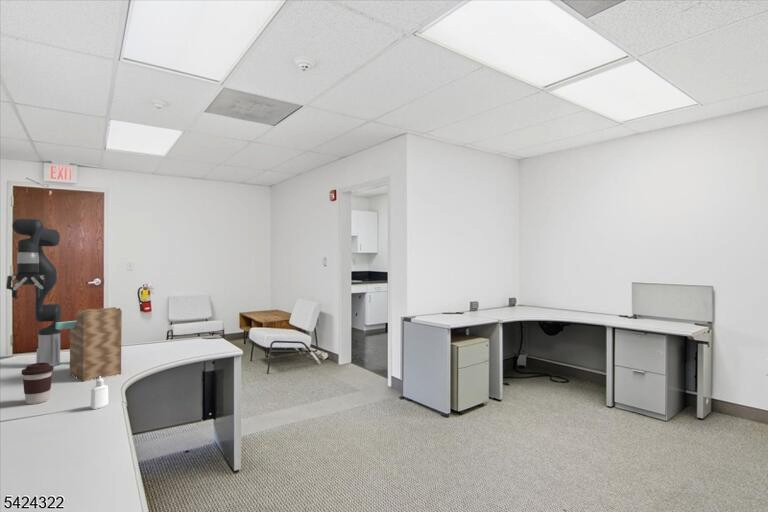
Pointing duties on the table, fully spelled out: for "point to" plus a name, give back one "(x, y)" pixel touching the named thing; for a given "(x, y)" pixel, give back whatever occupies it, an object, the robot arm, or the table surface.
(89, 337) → the stand
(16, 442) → the table surface
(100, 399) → the eye dropper bottle
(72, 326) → the block
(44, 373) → the coffee cup
